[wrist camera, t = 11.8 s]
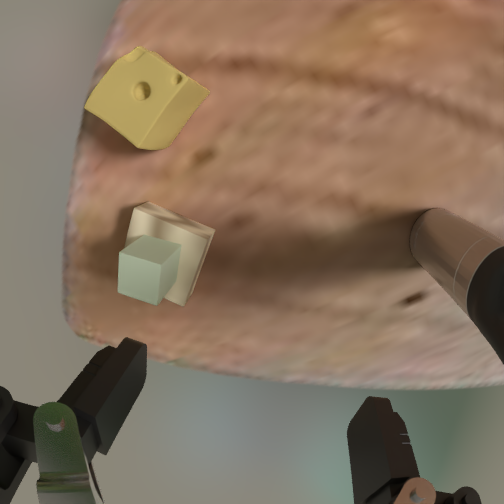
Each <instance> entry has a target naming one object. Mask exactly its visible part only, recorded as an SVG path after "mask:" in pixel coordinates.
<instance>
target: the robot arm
mask: <svg viewBox="0 0 504 504" xmlns="http://www.w3.org/2000/svg"><path fill="white" fill-rule="evenodd" d="M410 249H411V252H412V255H413V256H414V258H415V259H416V260H417V261H418V262H419V263H420V265H421V266H422V267H423V268H424V269H425V270H426V271H427V272H428V273H429V274H430V275H431V276H432V277H433V278H434V279H435V280H436V281H437V282H438V283H439V285H440V286H441V287H442V288H443V289H444V290H445V291H446V292H447V293H448V294H449V295H450V296H451V298H452V299H453V300H454V301H455V302H456V303H457V304H458V305H459V306H460V307H461V309H462V310H463V311H464V312H465V313H466V314H467V315H468V317H469V318H470V319H471V320H472V321H473V322H474V324H475V325H476V326H477V327H478V329H479V330H480V332H481V333H482V334H483V336H484V337H485V338H486V339H487V341H488V342H489V343H490V345H491V346H492V348H493V349H494V350H495V352H496V353H497V355H498V356H499V358H500V360H501V361H502V363H503V364H504V240H503V239H501V238H499V237H497V236H495V235H493V234H492V233H490V232H488V231H486V230H484V229H483V228H481V227H479V226H477V225H475V224H473V223H471V222H469V221H467V220H465V219H463V218H461V217H460V216H458V215H456V214H454V213H451V212H449V211H447V210H445V209H441V208H435V209H431V210H428V211H426V212H425V213H423V214H422V215H421V216H420V217H419V218H418V219H417V221H416V222H415V224H414V226H413V228H412V231H411V235H410ZM146 367H147V345H146V344H144V343H142V342H139V341H136V340H133V339H130V338H128V337H126V338H124V339H123V341H122V342H121V343H120V344H119V346H118V347H117V348H114V347H111V346H107V347H106V348H104V349H102V350H100V351H98V352H97V353H96V354H95V355H94V357H93V358H92V359H91V360H90V362H89V364H87V365H86V366H85V368H84V369H83V371H82V372H81V373H80V374H79V375H78V377H77V378H76V379H75V380H74V381H73V383H72V384H71V385H70V387H69V388H68V389H67V391H66V392H65V393H64V394H63V395H62V397H61V398H60V399H59V400H58V401H57V402H48V403H45V404H42V405H41V406H40V407H36V406H32V405H28V404H25V403H21V402H18V401H14V400H13V398H12V396H11V394H10V392H9V391H8V390H7V389H5V388H4V387H1V386H0V504H10V502H11V500H12V498H13V496H14V494H15V492H16V490H17V488H18V487H19V485H20V483H21V481H22V479H23V477H24V475H25V474H26V472H27V470H28V468H29V466H30V464H31V463H32V462H36V463H38V467H39V473H40V478H39V480H37V483H36V486H37V494H38V499H39V503H40V504H105V501H104V499H103V496H102V493H101V489H100V486H99V483H98V480H97V477H96V473H95V470H94V466H93V463H92V459H93V457H94V455H95V453H96V451H98V452H100V453H102V454H104V455H107V453H108V451H109V449H110V447H111V445H112V443H113V441H114V440H115V438H116V436H117V434H118V432H119V430H120V428H121V427H122V425H123V423H124V421H125V419H126V417H127V416H128V414H129V412H130V410H131V408H132V406H133V405H134V403H135V401H136V399H137V397H138V396H139V394H140V392H141V390H142V388H143V386H144V383H145V379H146ZM407 434H408V432H407V429H406V426H405V422H404V421H403V420H402V418H401V417H400V416H399V414H398V413H397V412H393V409H392V406H391V403H390V400H389V399H388V398H381V397H372V396H369V397H367V398H366V400H365V401H364V403H363V404H362V405H361V407H360V408H359V410H358V411H357V413H356V414H355V416H354V417H353V419H352V420H351V421H350V423H349V426H348V430H347V438H348V446H349V456H350V464H351V474H352V484H353V493H354V504H481V500H480V497H479V495H478V493H477V492H476V491H475V490H474V489H473V488H471V487H462V488H460V489H458V490H457V491H456V492H455V493H453V494H450V493H444V492H439V491H435V489H434V487H433V485H432V484H431V483H430V482H429V481H427V480H426V479H424V478H420V475H419V472H418V468H417V464H416V460H415V457H414V453H413V449H412V446H411V445H410V439H409V436H407Z"/></svg>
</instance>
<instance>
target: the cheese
mask: <svg viewBox="0 0 504 504" xmlns="http://www.w3.org/2000/svg"><path fill="white" fill-rule="evenodd" d="M209 93H210V92H209V91H208V90H207V89H206V88H205V87H203V86H202V85H200V84H199V83H197V82H196V81H194V80H193V79H191V78H190V77H188V76H186V75H185V74H183V73H182V72H180V71H179V70H177V69H176V68H175V67H174V66H172V65H171V64H170V63H168V62H167V61H166V60H165V59H164V58H163V57H161V56H160V55H159V54H157V53H156V52H153V51H152V52H150V51H149V50H147V49H146V48H144V47H142V46H138V47H136V48H135V49H134V50H133V51H132V52H130V53H129V54H127V55H124V56H123V57H120V58H119V59H118V60H117V61H116V62H115V63H114V64H113V65H112V66H111V68H110V69H109V70H108V72H107V73H106V74H105V75H104V77H103V78H102V79H101V81H100V82H99V83H98V85H97V86H96V87H95V89H94V90H93V92H92V93H91V95H90V96H89V98H88V100H87V102H86V104H85V106H84V108H85V109H86V110H87V111H89V112H91V113H92V114H94V115H96V116H97V117H99V118H100V119H102V120H103V121H105V122H106V123H107V124H109V125H110V126H111V127H112V128H114V129H115V130H116V131H117V132H119V133H120V134H121V135H122V136H124V137H125V138H126V139H127V140H128V141H130V142H131V143H132V144H133V145H134V146H136V147H137V148H141V149H147V150H160V149H165V148H167V147H169V146H170V145H171V143H172V142H173V141H174V139H175V138H176V137H177V135H178V134H179V132H180V131H181V129H182V128H183V127H184V125H185V124H186V122H187V121H188V119H189V118H190V117H191V115H192V114H193V113H194V111H195V110H196V109H197V108H198V106H199V105H200V104H201V103H202V102H203V100H204V99H205V98H206V97H207V96H208V95H209Z"/></svg>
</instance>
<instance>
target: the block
mask: <svg viewBox="0 0 504 504" xmlns="http://www.w3.org/2000/svg"><path fill="white" fill-rule="evenodd" d="M180 252H181V244H177V243H173V242H170V241H166V240H162V239H159V238H155V237H151V236H148V235H143V236H142V237H140V238H139V239H137V240H136V241H134V242H133V243H132V244H130V245H129V246H127V247H126V248H124V249H123V250H122V251H120V252H119V267H118V293H121V294H123V295H126V296H129V297H132V298H135V299H138V300H141V301H144V302H147V303H150V304H153V305H156V306H157V305H158V304H159V303H160V302H161V300H162V299H163V298H164V296H165V295H166V294H167V292H168V291H169V290H170V289H171V287H172V286H173V285H174V283H175V282H176V279H177V272H178V265H179V258H180Z"/></svg>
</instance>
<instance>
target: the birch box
mask: <svg viewBox="0 0 504 504" xmlns="http://www.w3.org/2000/svg"><path fill="white" fill-rule="evenodd" d="M214 233H215V229H212V228H210V227H208V226H205V225H203V224H200V223H198V222H196V221H193V220H191V219H189V218H186V217H184V216H182V215H179V214H177V213H174V212H172V211H170V210H167V209H165V208H163V207H160V206H158V205H155V204H153V203H151V202H146V203H144V204H142V205H140V206H137V207H135V208H134V210H133V214H132V217H131V221H130V225H129V229H128V233H127V238H126V242H125V246H124V248H126V247H127V246H129V245H130V244H132V243H133V242H134V241H136V240H137V239H139V238H140V237H142V236H143V235H148V236H151V237H155V238H159V239H162V240H166V241H170V242H173V243H177V244H181V252H180V258H179V265H178V272H177V279H176V282H175V283H174V285H173V286H172V287H171V289H170V290H169V291H168V292H167V294H166V295H165V296H164V298H165V299H167V300H169V301H171V302H174V303H176V304H178V305H180V306H182V307H184V305H185V304H186V302H187V301H188V299H189V297H190V296H191V294H192V293H193V290H194V287H195V284H196V281H197V279H198V276H199V273H200V270H201V268H202V265H203V262H204V260H205V257H206V254H207V252H208V249H209V246H210V244H211V241H212V238H213V236H214Z"/></svg>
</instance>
